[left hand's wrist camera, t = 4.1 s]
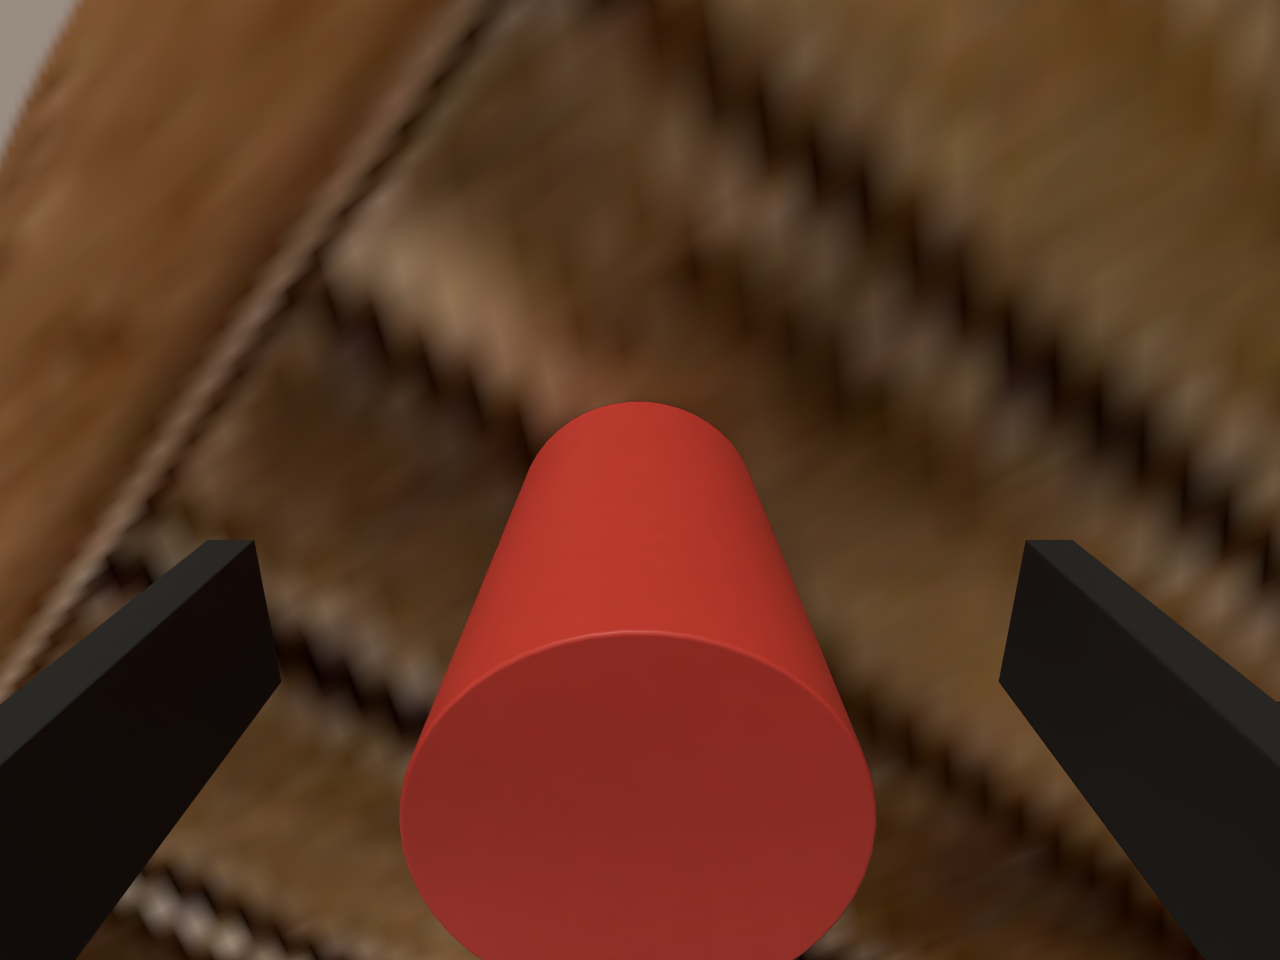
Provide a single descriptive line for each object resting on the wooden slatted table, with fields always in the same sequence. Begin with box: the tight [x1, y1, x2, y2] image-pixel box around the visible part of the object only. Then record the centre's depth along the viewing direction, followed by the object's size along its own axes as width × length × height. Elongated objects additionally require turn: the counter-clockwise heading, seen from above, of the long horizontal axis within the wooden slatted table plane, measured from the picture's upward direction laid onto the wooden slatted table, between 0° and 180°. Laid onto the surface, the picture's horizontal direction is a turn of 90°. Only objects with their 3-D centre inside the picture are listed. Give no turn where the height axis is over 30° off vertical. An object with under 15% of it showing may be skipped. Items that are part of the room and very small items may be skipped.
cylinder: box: [399, 402, 876, 960], centre depth 13 cm, size 5×5×9 cm
